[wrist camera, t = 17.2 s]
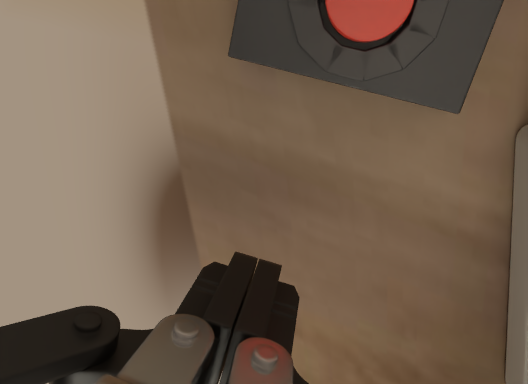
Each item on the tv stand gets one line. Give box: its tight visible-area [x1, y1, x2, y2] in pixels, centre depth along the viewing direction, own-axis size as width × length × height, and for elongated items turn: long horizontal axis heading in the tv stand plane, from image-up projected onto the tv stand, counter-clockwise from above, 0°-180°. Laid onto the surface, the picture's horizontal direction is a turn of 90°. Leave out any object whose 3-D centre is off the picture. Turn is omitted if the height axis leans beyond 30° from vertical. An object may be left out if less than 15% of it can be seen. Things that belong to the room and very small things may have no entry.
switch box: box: [228, 0, 504, 114], centre depth 18 cm, size 11×7×4 cm, turn 77°
